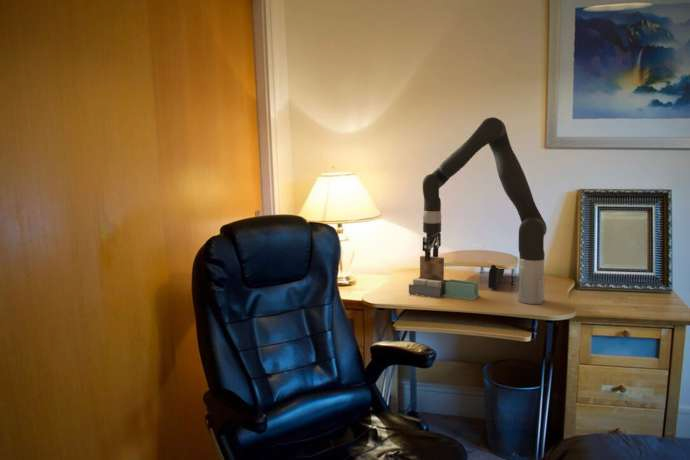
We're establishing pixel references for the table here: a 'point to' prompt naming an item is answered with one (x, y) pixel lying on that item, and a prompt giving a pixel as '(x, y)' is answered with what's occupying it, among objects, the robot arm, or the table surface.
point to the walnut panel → (432, 268)
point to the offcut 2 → (433, 283)
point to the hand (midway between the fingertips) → (431, 258)
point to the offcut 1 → (419, 281)
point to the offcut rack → (429, 290)
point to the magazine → (495, 276)
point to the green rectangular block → (462, 289)
